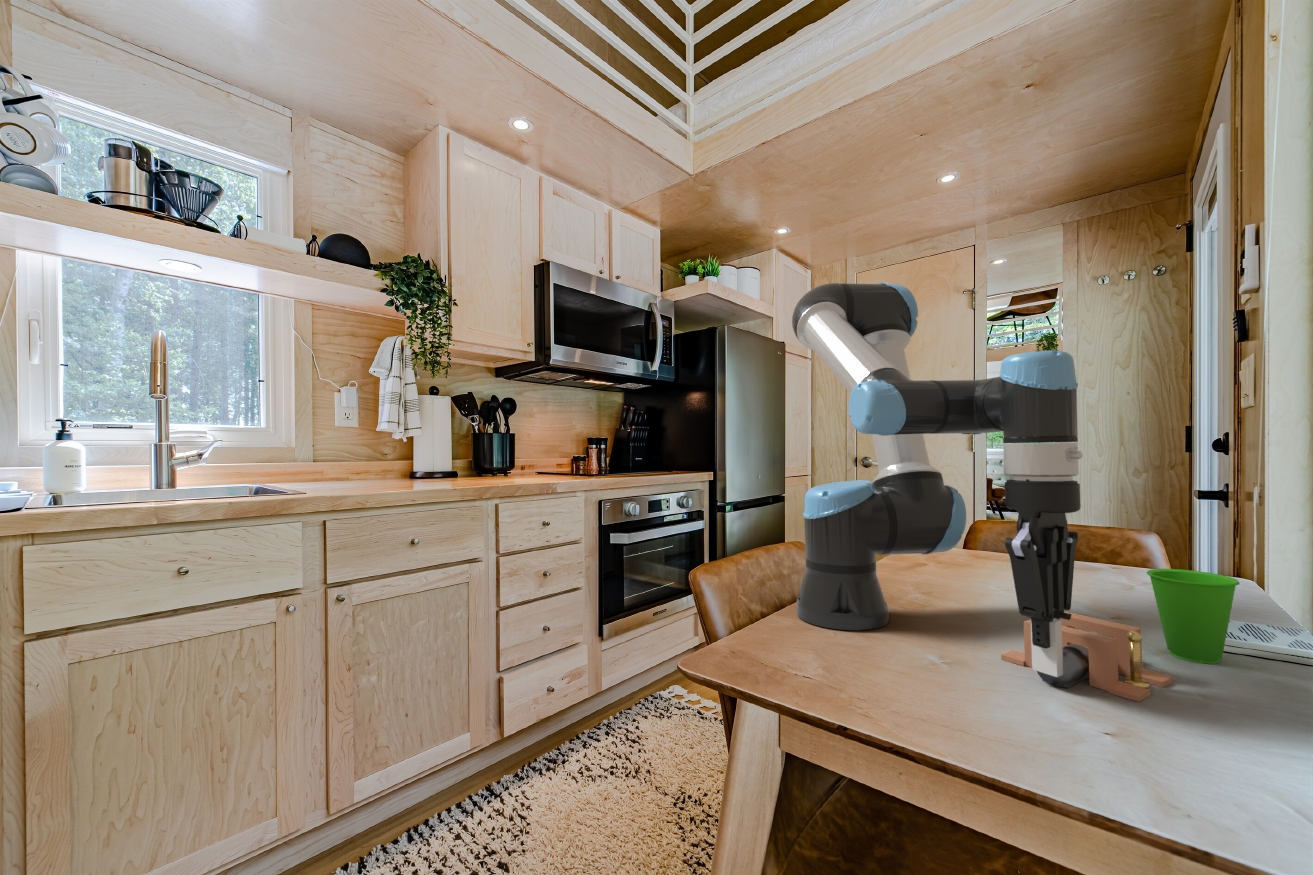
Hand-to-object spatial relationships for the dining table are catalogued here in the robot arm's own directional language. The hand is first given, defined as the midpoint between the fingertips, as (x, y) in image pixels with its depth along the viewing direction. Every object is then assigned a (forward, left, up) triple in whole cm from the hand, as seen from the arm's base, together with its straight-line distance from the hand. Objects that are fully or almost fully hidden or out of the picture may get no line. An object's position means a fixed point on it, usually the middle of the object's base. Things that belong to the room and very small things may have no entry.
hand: (1047, 671), depth 65 cm
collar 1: (0, +6, -2) cm, 6 cm away
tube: (0, +9, -2) cm, 9 cm away
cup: (+6, +27, -2) cm, 27 cm away
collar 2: (0, +13, -2) cm, 13 cm away
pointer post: (+5, +9, -2) cm, 11 cm away
